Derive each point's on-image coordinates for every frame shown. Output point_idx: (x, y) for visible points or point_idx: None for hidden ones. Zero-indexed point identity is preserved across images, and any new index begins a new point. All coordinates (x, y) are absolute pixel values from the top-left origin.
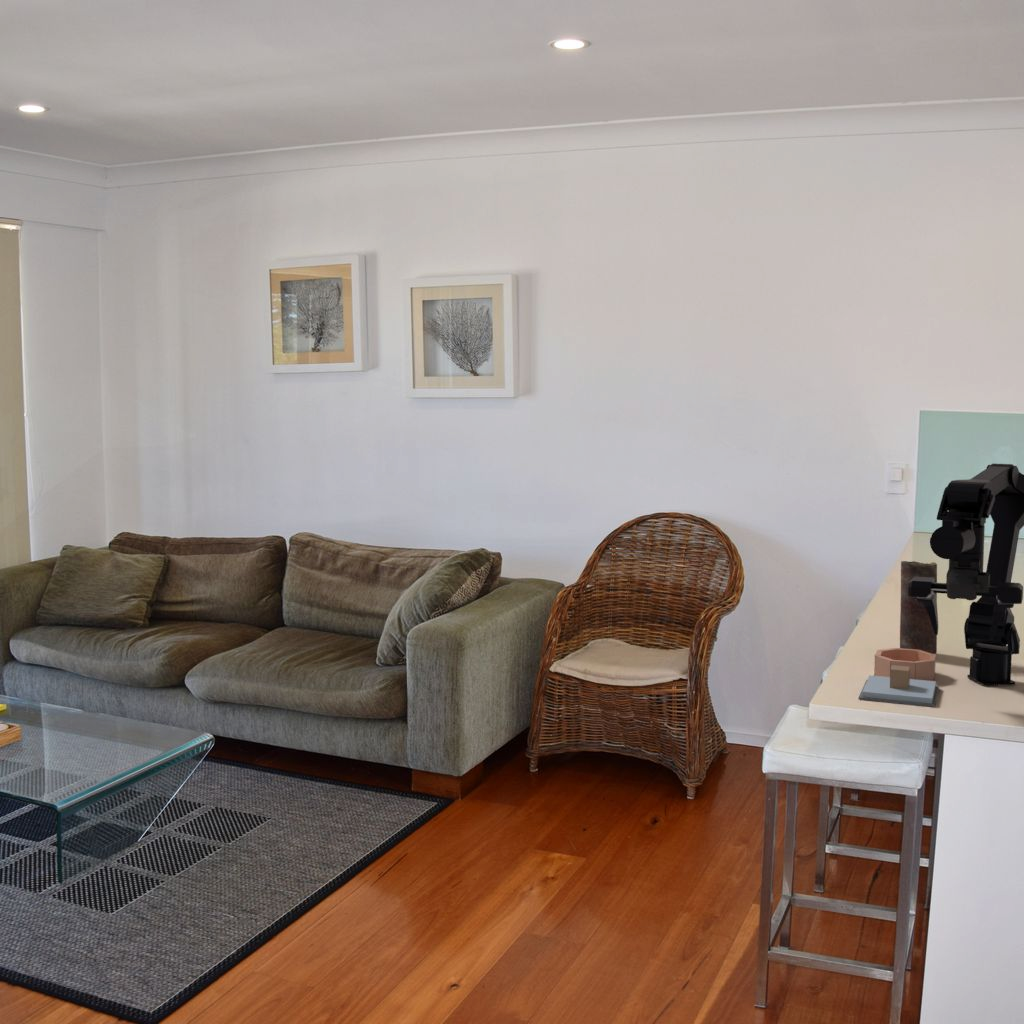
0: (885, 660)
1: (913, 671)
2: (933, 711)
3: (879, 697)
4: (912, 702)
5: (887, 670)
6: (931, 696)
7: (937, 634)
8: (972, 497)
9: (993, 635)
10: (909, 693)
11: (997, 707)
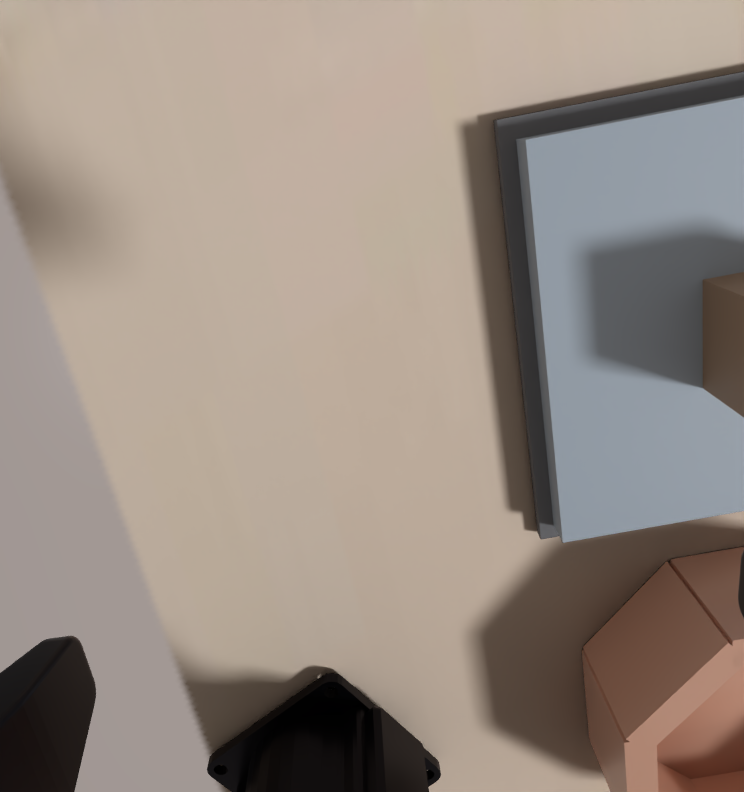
0: None
1: (710, 601)
2: (481, 9)
3: None
4: (639, 101)
5: None
6: (537, 186)
7: (741, 572)
8: None
9: (3, 676)
10: (685, 183)
11: (160, 332)
